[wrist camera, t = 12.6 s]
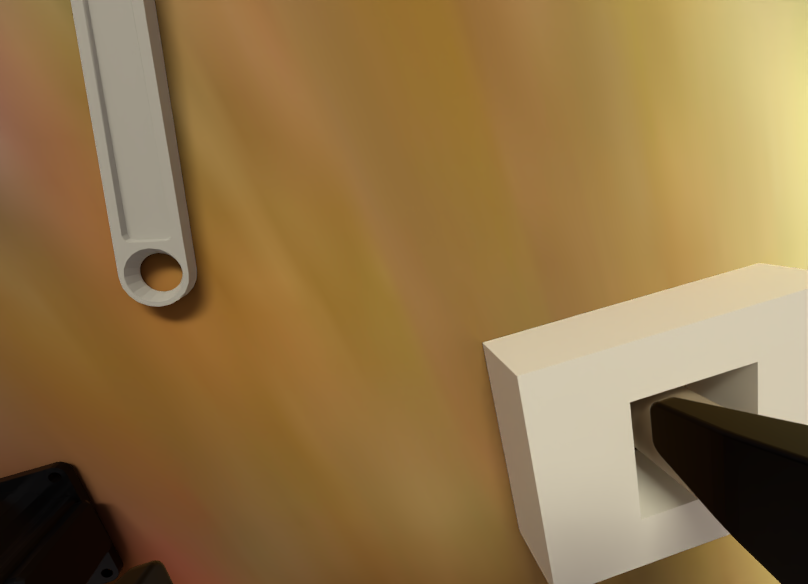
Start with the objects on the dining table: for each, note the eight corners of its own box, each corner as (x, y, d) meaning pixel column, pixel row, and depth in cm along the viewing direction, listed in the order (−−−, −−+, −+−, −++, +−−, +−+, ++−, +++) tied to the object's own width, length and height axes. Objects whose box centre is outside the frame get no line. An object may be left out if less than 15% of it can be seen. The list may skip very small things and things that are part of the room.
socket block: (519, 530, 23) (555, 597, 19) (482, 342, 20) (517, 376, 16) (759, 448, 24) (838, 494, 20) (758, 262, 21) (851, 275, 17)
